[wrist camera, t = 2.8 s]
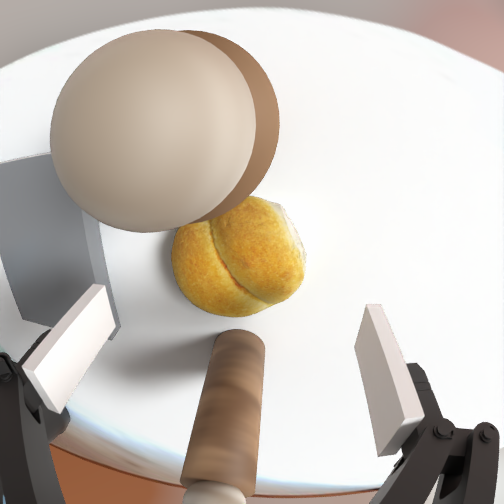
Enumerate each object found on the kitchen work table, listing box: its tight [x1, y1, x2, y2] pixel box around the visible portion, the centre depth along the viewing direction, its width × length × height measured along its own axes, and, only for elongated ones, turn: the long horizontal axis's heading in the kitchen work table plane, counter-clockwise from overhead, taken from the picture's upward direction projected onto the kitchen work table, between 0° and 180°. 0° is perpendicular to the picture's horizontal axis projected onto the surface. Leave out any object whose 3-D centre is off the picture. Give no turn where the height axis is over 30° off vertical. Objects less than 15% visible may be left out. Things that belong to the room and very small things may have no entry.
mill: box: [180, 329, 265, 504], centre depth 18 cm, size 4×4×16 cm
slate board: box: [0, 152, 121, 340], centre depth 21 cm, size 12×16×2 cm
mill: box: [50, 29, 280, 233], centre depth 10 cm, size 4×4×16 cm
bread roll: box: [171, 196, 306, 317], centre depth 20 cm, size 8×9×4 cm
